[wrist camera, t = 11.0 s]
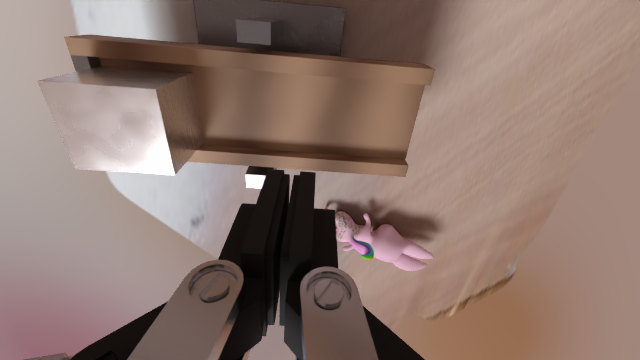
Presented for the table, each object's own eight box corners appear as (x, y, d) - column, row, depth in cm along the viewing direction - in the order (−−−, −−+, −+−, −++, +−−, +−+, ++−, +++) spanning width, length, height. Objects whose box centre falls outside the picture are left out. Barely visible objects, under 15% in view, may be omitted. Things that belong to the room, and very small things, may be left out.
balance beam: (423, 64, 20) (434, 69, 18) (398, 163, 24) (405, 176, 22) (89, 34, 19) (64, 37, 17) (122, 143, 23) (104, 155, 21)
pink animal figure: (313, 225, 37) (414, 268, 38) (305, 256, 32) (422, 305, 33) (332, 188, 34) (441, 235, 35) (326, 216, 29) (455, 270, 30)
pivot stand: (344, 8, 23) (357, 6, 16) (328, 158, 31) (332, 204, 23) (197, -6, 23) (142, -15, 15) (216, 151, 30) (184, 196, 23)
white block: (192, 72, 19) (155, 89, 15) (203, 143, 22) (174, 175, 17) (101, 65, 19) (37, 80, 15) (123, 137, 21) (75, 169, 17)
